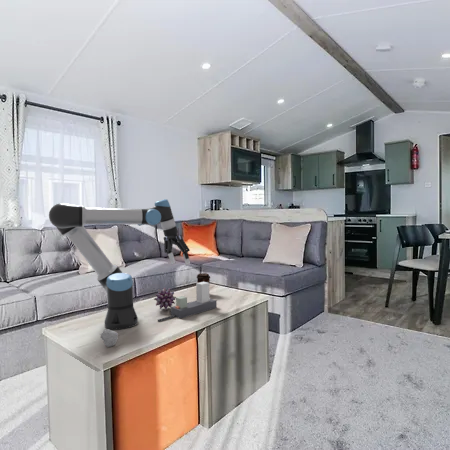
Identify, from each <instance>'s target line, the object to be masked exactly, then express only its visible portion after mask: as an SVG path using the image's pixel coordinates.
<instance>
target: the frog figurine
mask: <svg viewBox="0 0 450 450" xmlns="http://www.w3.org/2000/svg"><path fill="white" fill-rule="evenodd" d="M118 335H119V334H118V332H117V331H114V330H112V329H108V328H106V329H103V330H102V332H101V333H99V336H100V339H101V340H102V341H103V344H104V345H105V346H106V347H108V348H110V347H113V346H115V344H116V343H117V341H118V338H119V337H118Z"/></svg>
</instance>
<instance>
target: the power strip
mask: <svg viewBox="0 0 450 450" xmlns="http://www.w3.org/2000/svg"><path fill="white" fill-rule="evenodd" d="M217 303H218V302H217V300H216V299H213V298H210V301H209V302H205V303H200V302H197V300H193V301H190V302H187V307H186V308H182V309H180V307H179V306H176V305H175V306H171V308H170V316H169V315H168V316H166V317H161V318H158V319H157V322H158V323H159V322H163V321H167V320H169V319H174V318H178V319H183V318H186V317H190V316H193V315H197V314H201V313H204V312H207V311H211V310H214V309H217V308H218V307H217V305H218V304H217Z"/></svg>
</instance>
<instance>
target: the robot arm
mask: <svg viewBox="0 0 450 450" xmlns="http://www.w3.org/2000/svg"><path fill="white" fill-rule="evenodd" d="M48 218H49V221H50V223H51V224H52V225H53V226H54V227H55V228H56V229H57V230H58V232H60V234H61V235H62V236H64V237H67V238H68V239H69V240H70V241H71V243H72V244H73V245H74V247H76V249H77V250H78V252H79V253H80V254H81V256H82V257H83V258H84V259H85V260H86V262H87V264H88V265H89V266H90V267H91V268H92V270H93V271H94V272H95V273H96V275H97V278H96V280H97V281H98V283H99V284H100V285H101V286H102V288H103V289H104V291H105V292H106V296H107V298H106V299H107V311H106V315H105V318H104V327H105V328H106V329H109V330H125V329H129V328H131V327H134V326H136V325H137V324H138V323H139V321H138V320H139V317H138V315H137V312H136V309H135V307H134V291H133V290H134V289H133V288H134V287H133V283H134V282H133V280H134V279H133V277H132V275H131V274H129V273H125V272H123V271H122V270H121V269H120V267H119V266H118V265H116V264H113V263H112V262H111V261H110V259H109V257H108V256H106V253H104V251H103V250H102V249H101V247H100V246H99V245H98V243H97V242H96V241H95V239H94V238H93V237H92V235H91V234H90V232H88V230H87V228H86V227H85V225H137V226H144V225H151V226H155V225H158V224H160V225H161V226H160V227H161V229H162V230H163V231H162V232H163V235H164V237H163V243H164V244H163V246H164V247H163V248H164V249H163V250H164V253H165V254H167V255H168V256H167V257H168V259H169V262H170V265H171V266H173V265H175V264H176V258H175V256H174V253H173V251H172V250H173V245H175V246H176V247H177V248H178V249H179V250H180V251H181V253H182V257H183V260H184V263H185V266H189V265H190V264H191V261H190V256H189V252H190V248H189V246H188V245H187V243H186V241H184V239H183V236H182V234H180V235H178V233H179V231H178V228H177V225H176V221H175V217H174V214H173V211H172V209H171V205H170V202H169V200H168V199H161V200H158V201H154V206H152V207H148V208H118V207H117V208H110V207H106V208H105V207H103V208H102V207H85V206H84V205H78V204H77V205H76V204H70V203H68V202H67V203H66V202H60V203H59V202H58V203H56V204H54V205H53V206H52V207H51V208H50V210H49V212H48Z"/></svg>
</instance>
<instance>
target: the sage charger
mask: <svg viewBox="0 0 450 450" xmlns="http://www.w3.org/2000/svg"><path fill="white" fill-rule="evenodd" d="M175 297H176V296H175ZM187 303H188V297H186V296H183V295H181V296H177V297H176V298H175V306H179V307H180V309H182V308H186V307H187Z"/></svg>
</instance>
